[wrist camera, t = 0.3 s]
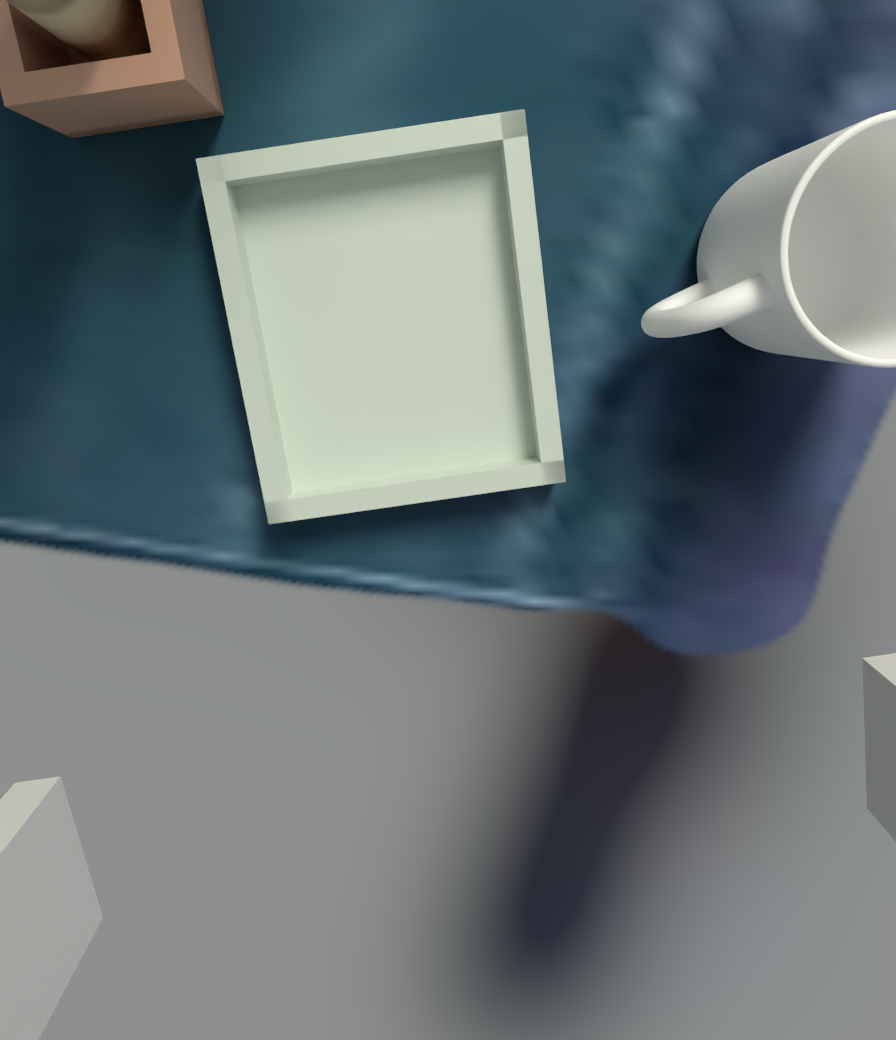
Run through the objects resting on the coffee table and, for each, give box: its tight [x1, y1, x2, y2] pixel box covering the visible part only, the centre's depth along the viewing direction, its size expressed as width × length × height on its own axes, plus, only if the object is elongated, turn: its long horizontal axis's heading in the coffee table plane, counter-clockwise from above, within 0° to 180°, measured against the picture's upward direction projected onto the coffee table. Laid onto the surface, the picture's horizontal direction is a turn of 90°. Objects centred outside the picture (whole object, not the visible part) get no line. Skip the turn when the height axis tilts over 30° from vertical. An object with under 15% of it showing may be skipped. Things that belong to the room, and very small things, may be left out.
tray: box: [196, 109, 566, 524], centre depth 38 cm, size 15×13×2 cm
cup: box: [641, 110, 896, 368], centre depth 34 cm, size 8×12×10 cm
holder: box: [0, 0, 224, 138], centre depth 33 cm, size 7×7×6 cm
